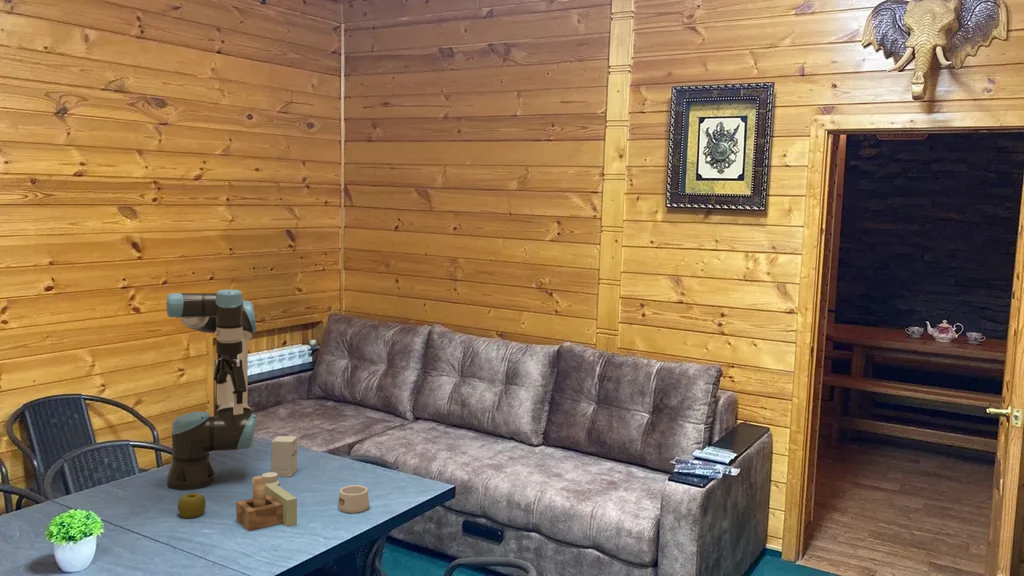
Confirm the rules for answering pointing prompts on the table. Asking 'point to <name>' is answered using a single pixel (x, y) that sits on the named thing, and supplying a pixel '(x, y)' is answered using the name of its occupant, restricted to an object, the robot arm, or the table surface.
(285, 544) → the table surface
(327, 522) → the table surface
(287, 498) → the board wall
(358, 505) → the beige pet bowl
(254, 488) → the dowel
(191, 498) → the apple
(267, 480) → the pill bottle
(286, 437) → the supplement box
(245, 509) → the block
